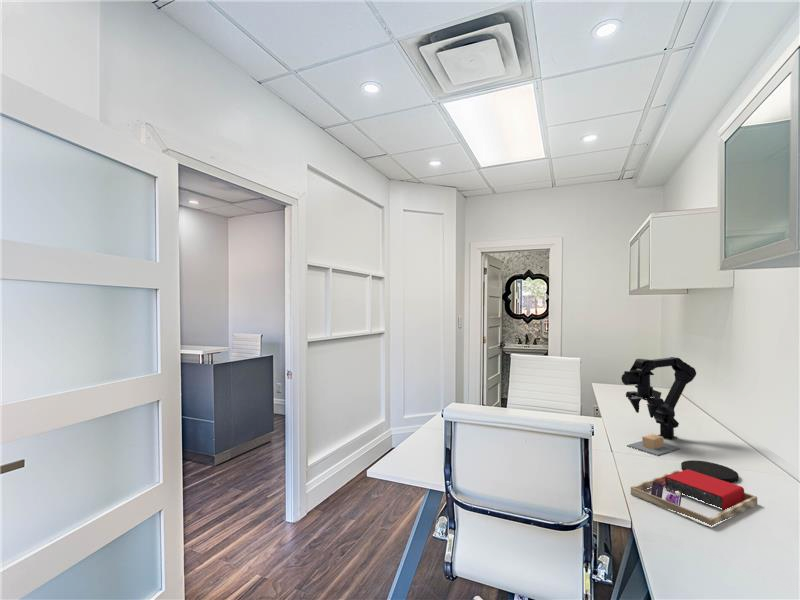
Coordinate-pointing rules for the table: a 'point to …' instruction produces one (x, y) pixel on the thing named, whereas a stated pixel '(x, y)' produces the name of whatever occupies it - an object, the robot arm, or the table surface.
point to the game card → (658, 491)
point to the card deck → (653, 441)
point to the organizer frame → (726, 514)
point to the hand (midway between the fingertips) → (644, 415)
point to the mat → (654, 451)
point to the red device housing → (706, 488)
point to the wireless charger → (711, 470)
